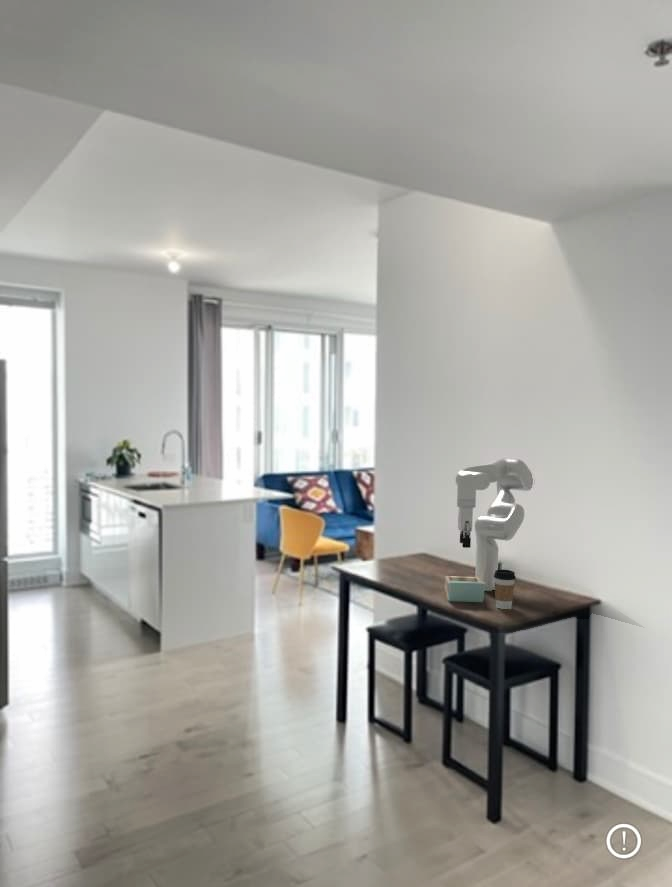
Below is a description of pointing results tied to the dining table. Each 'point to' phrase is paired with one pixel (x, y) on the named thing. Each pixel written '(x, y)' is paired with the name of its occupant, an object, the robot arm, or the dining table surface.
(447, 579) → the crate
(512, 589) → the coffee cup
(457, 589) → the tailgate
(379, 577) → the dining table surface
